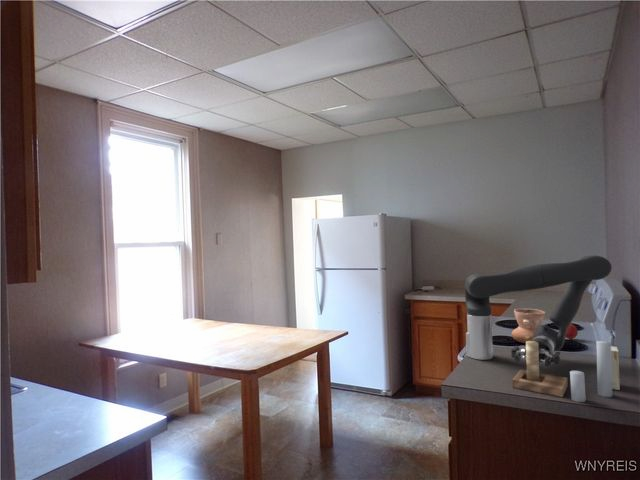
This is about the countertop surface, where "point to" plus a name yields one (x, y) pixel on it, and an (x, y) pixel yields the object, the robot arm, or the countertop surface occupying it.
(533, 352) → the beech dowel
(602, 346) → the tall grey dowel
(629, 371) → the countertop surface
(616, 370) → the skincare box
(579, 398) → the short grey dowel
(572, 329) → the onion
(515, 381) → the wooden board with hole
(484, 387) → the countertop surface
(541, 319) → the ceramic jug
